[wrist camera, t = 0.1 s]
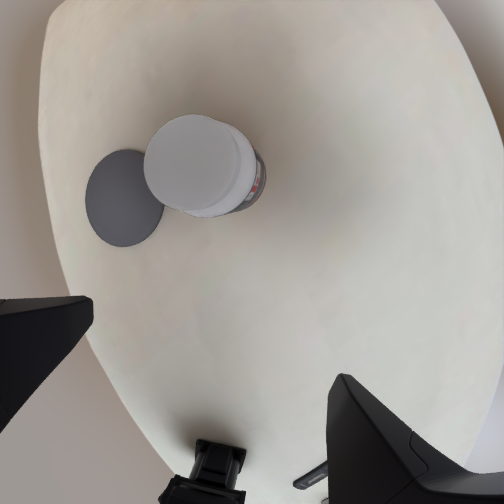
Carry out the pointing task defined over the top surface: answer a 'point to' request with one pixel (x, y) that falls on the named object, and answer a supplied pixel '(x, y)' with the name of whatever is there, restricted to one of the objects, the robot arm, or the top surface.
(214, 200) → the pill bottle
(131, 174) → the coaster
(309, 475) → the usb stick
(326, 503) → the bolt
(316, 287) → the top surface
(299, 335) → the top surface
